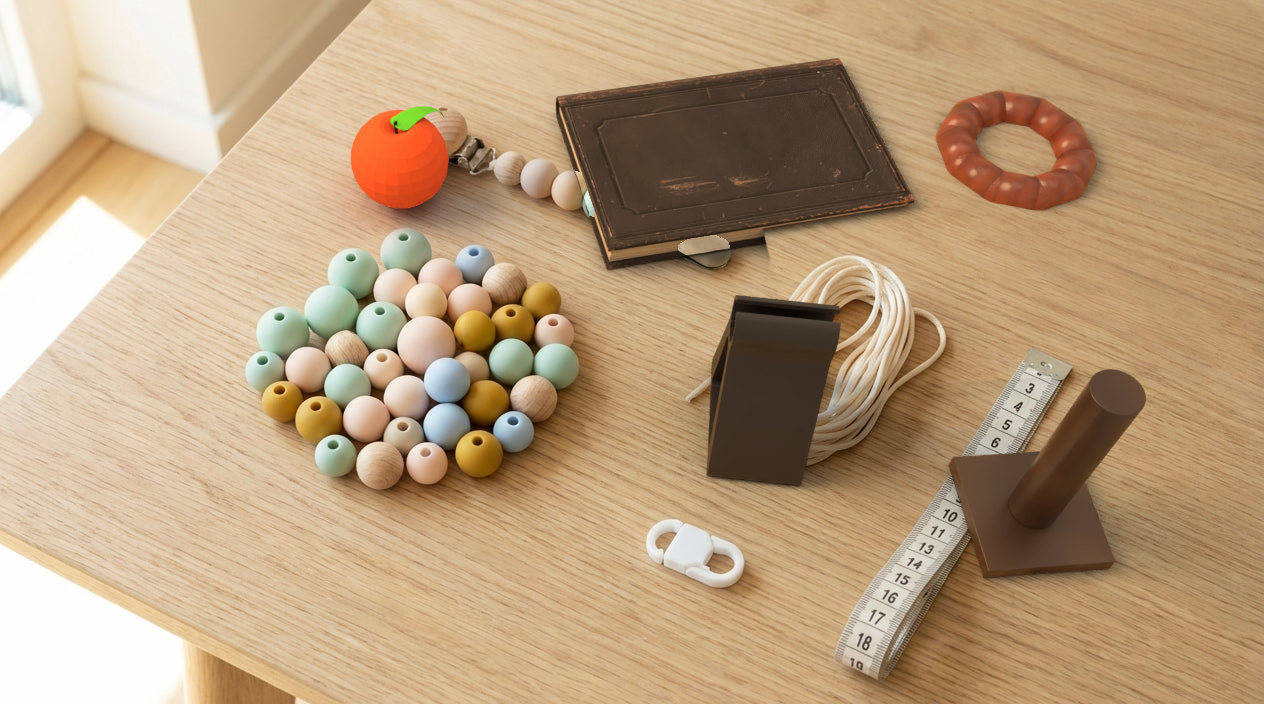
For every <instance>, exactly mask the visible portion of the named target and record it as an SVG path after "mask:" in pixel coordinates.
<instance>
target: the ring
mask: <svg viewBox="0 0 1264 704" xmlns="http://www.w3.org/2000/svg"><path fill="white" fill-rule="evenodd" d="M1003 123H1004V124H1010V125H1014V126H1015V125H1016V126H1020V127H1026V128H1027V127H1028V128H1029V129H1031V130H1032V131H1033V132H1035V133H1037V134H1038V135H1039V136H1041V137H1042V138H1044V139H1045V140H1047V141H1048V143H1049V144H1050V147H1051V149H1052V152H1053V153H1054V156H1055V159H1056V160H1055V162H1054V164H1053V166H1052V168H1051V170H1049V171H1046V172H1043V173H1039V174H1036V175H1028V174H1023V173H1018V172H1013V171H1008V170H1004V169H1002V168H1001V167H999V166H998V165H997V164H995V163H994V162H993V161H991V160H989V159H988V158H987V157H985V156H984V155H982V153H981V150H980V148H979V145H978V143H977V141H976V140H977V139H978V137H979V136H980V133H982V130H983V129H986V128H990V127H993V126H995V125H999V124H1003ZM935 140H936V144H937V146H938V149H939V152H940V155H941V158H942V161H943V163H944V166H945V168H946V170H947V172H948V173H949V174H950V176H951V177H952V178H955V179H956V180H957V181H959V182H960V183H962V184H963V185H964V186H966V188H968V189H969V190H971V191H972V192H974V193H975V194H976V195H978V196H980V197H981V198H982V199H983V200H986V201H988V202H990V203H993V204H998V205H1004V206H1009V207H1013V208H1020V209H1025V210H1030V211H1039V212H1040V211H1046V210H1048V209H1052V208H1054V207H1057V206H1060V205H1064V204H1067V203H1069V202H1071V201H1072V202H1073V201H1075V200H1078V199H1080V198H1081V197H1082V196H1083V195H1084V193H1085V191H1086V189H1087V187H1088V185H1089V184H1090V183H1089V182H1090V180H1091V178H1092V177H1093V175H1094V172H1095V170H1096V167H1097V163H1098V160H1097V155H1096V153H1095V150H1094V148H1093V146H1092V143H1091V141H1090V139H1089V137H1088V135H1087V132H1086V131H1085V128H1084V127H1083V125H1082V123H1081V122H1080V121H1078V119H1076V118H1075V117H1073V116H1071V115H1070V114H1068V113H1067V112H1065V111H1064V110H1062V109H1061V108H1060V107H1058V106H1057V105H1055V104H1053V103H1052V102H1051V101H1049V100H1048V99H1046V98H1043V97H1041V96H1036V95H1030V94H1024V93H1019V92H1013V91H1008V90H1000V89H997V90H992V91H988V92H986V93H983V94H979V95H975V96H972V97H969V98H964V99H963V100H960V101H958V102H956V103H955V104H954V105H953V106H952V107H951V109H950V110H949V112H948V114H947V116H946V117H945V119H944V121H943V122H942V124H941V126H940V127H939V129H938V131H937V132H936V135H935Z"/></svg>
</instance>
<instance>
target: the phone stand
mask: <svg viewBox="0 0 1264 704" xmlns="http://www.w3.org/2000/svg"><path fill="white" fill-rule="evenodd" d="M840 313H841V307H840V306H839V305H835V304H828V303H827V304H826V303H818V302H817V303H816V302H806V301H796V300H788V299H777V298H769V297H759V296H749V295H739V294H735V296H734V298H733V303H732V306H731V312H730V316H729V319H728V321H727V324H726V326H725V328H724V331H723V333H722V335H721V338H720V341H719V343H718V345H717V346H716V347H717V348H716V350H715V352H714V355H713V357H712V360H711V367H710V368H711V369H710V370H711V371H710V389H709V391H710V393H709V410H708V411H709V412H708V413H709V414H708V416H709V417H708V418H709V419H708V434H707V435H708V437H707V456H706V457H707V458H706V476H710V477H718V478H727V479H736V480H747V481H756V482H763V483H764V482H765V483H775V484H785V485H793V486H802V484H803V480H804V475H805V471H806V467H807V463H808V458H809V454H810V450H811V447H812V442H813V438H814V433H815V430H816V425H817V421H818V417H819V413H820V409H821V404H822V400H823V395H824V392H825V387H826V383H827V379H828V375H829V371H830V368H831V364H832V361H833V359H834V357H835V354H836V352H837V349H838V345H839V339H840V334H841V322H839V321H834V318H835V315H840Z"/></svg>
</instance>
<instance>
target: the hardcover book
mask: <svg viewBox="0 0 1264 704" xmlns="http://www.w3.org/2000/svg"><path fill="white" fill-rule="evenodd" d="M555 115H556V120H557V124H558V126H559V129H560V132H561V135H562V136H561V137H562V139H563V141H564V144H565V148H566V151H567V153H568V156H569V159H570V162H571V167H572V168H573V171H574V170H575V171H578V172H580V173H581V175H582V176H583V178H584V181H585V184H586V187H587V190H588V193H589V196H590V199H591V202H592V205H593V208H594V211H595V212H594V214H595V215H594V216H595V217H592V216H589V215H588V217H589V220H590V223H591V226H592V229H593V232H594V236H595V238H596V242H597V244H598V247H599V251H600V253H601V257H602V260H603V262H604V266H605V269H606V270H610V269H616V268H622V267H623V268H624V267H628V266H635V265H641V264H647V263H652V262H659V261H666V260H671V259H677V258H678V259H679V258H684V257H686V256H685V255H683V254H682V253H681V252H679V251H678V245H679V244H680V243H682V242H684V241H685V240H687V239H691V238H698V237H704V236H710V235H717V236H719V237H720V238H721V237H722V238H724V239H726V240H727V241H728V242H729V245H730V248H731V249H730V250H735V249H740V248H745V247H752V246H757V245H764V244H767V239H766V235H765V232H764V229H768V228H775V227H780V226H787V225H791V224H793V225H794V224H799V223H805V222H812V221H817V220H822V219H830V218H836V217H841V216H848V215H855V214H860V213H868V212H874V211H879V210H885V209H891V208H897V207H904V206H905V207H906V206H907V205H910V204H914V203H915V201H916V200H915V198H914V196H913V194H912V192H911V190H910V189H909V187H908V185H907V182H906V181H905V179H904V176H903V175H902V174H901V171H900V170H899V167H898V165H897V163H896V161H895V160H894V158H893V156H892V154H891V152H890V151H889V149H888V147H887V145H886V143H885V142H884V139H883V138H882V135H881V133H880V132H879V130H878V128H877V125H876V124H875V122H874V121H873V119H872V117H871V115H870V113H869V111H868V109H867V108H866V105H865V103H864V102H863V100H862V98H861V96H860V94H859V92H858V90H857V88H856V87H855V85H854V83H853V81H852V79H851V77H850V75H849V73H848V71H847V70H846V68H845V66H844V64H843V62H842V60H841V59H840V58H838V57H835V58H828V59H827V58H826V59H820V60H813V61H805V62H797V63H792V64H791V63H790V64H784V65H776V66H769V67H761V68H755V69H747V70H738V71H733V72H725V73H717V74H711V75H704V76H696V77H688V78H682V79H673V80H666V81H659V82H651V83H644V84H638V85H630V86H623V87H616V88H615V87H614V88H608V89H601V90H593V91H586V92H579V93H571V94H563V95H557V96H556V98H555ZM681 241H682V242H681Z"/></svg>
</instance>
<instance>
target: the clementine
mask: <svg viewBox="0 0 1264 704" xmlns="http://www.w3.org/2000/svg"><path fill="white" fill-rule="evenodd" d="M435 112H437V113H440V115H441V116H442V117H443V118H444V119H445V115H444V114H443V112H442V111H441V110H439V109H437V108H435V107H433V106H429V105H427V106H425V105H424V106H423V105H421V106H414V107H411V108H410V107H409V108H408V109H389V110H386V111H383V112H380V113H378V114H376V115H374V116H372V117H371V118H370V119H368V120H367V121H366V122H365V123H364V124H363V125H362V126H361V127H360V128H359V130H358V131H357V132H356V135H355V137H354V138H353V141H352V144H351V149H350V165H351V171H352V174H353V176H354V179H355V181H356V183H357V185H358V187H359V189H361V191H363V192H364V194H365V195H367V196H368V198H369V199H371V200H372V201H374V202H375V203H377V204H379V205H382V206H384V207H388V208H392V209H401V210H402V209H403V210H404V209H411V208H414V207H417V206H420V205H422V204H423V203H425V202H427V201H429V200H430V199H432V198H433V197H434V196H435V195H436V194H437V193H438V192H439V190H440V188H441V187H442V185H443V183H444V181H445V180H446V178H447V174H448V168H449V162H450V161H449V160H450V157H449V153H448V148H447V144H446V141H445V138H444V137H443V136H442V133H441V132H440V131H439V129H438V127H437V126H436V125H435V124H434V123H433V122H432V121H431V120H429V119H428V118H426V116H428V115H429V114H432V113H435Z"/></svg>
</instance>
